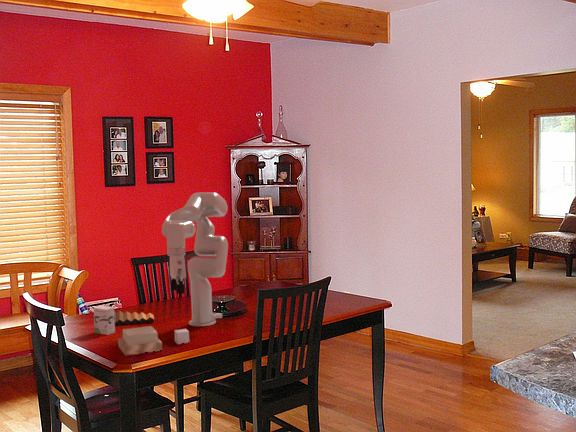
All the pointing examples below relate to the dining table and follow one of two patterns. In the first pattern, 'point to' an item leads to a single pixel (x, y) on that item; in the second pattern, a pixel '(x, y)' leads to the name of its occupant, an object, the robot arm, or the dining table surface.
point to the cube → (181, 336)
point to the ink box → (104, 320)
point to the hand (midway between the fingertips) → (177, 291)
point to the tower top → (140, 335)
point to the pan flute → (132, 318)
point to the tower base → (139, 347)
